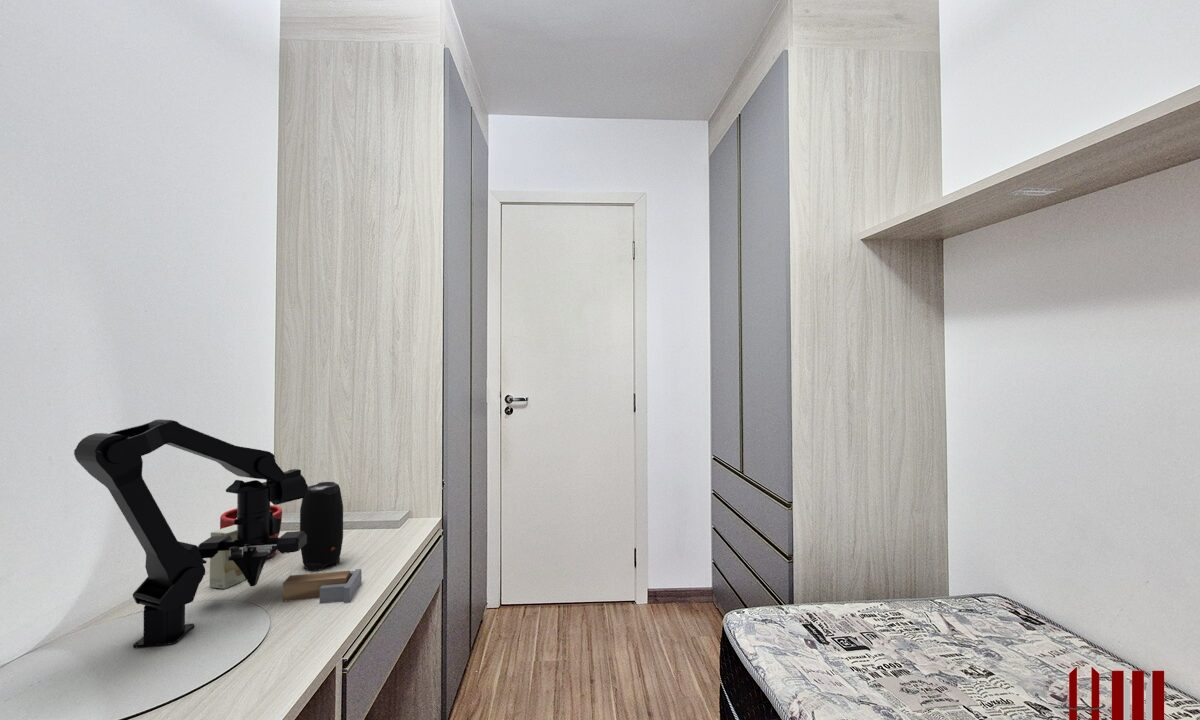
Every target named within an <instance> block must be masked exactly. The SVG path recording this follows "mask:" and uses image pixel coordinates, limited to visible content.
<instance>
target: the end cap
mask: <svg viewBox="0 0 1200 720" xmlns="http://www.w3.org/2000/svg"><path fill="white" fill-rule="evenodd" d="M349 571H350V579H349V581H348V582H347V584H335V585H323V586H321V587H320V598H319V604H325V603H334V602H335V603H336V602H337V603H338V602H343V603H350V602H351V601H352V599H353V598H354V596H355V594H356V593H357V591H358V590H359V589H358V588H359V587H360V585H361V584H362V575H363V574H362V568H356V569H355V570H349Z"/></svg>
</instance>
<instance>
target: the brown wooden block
mask: <svg viewBox="0 0 1200 720" xmlns="http://www.w3.org/2000/svg"><path fill="white" fill-rule="evenodd" d="M350 571H351V570H340V571H329V572H326V571H325V572H316V573H307V574H305V573H304V574H302V573H301V574H292V575H289V576H288V577H287V578H286V579H285V580H284V582H283V583H282V601H283V602H288V601H289V602H291V601H298V600H299V601H300V600H310V599H320V587H321V586H323V585H335V584H347V582H348V581H349V579H350Z"/></svg>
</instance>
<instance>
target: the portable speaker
mask: <svg viewBox="0 0 1200 720" xmlns="http://www.w3.org/2000/svg"><path fill="white" fill-rule="evenodd" d="M301 499H302V500H301V503H300V504H301V505H300V509H299V531H304V532H305V533H306V535H307V543H306V544H305V545H304V546H303V547H302V548H301V549H300V552H301V553H300V554H301V558H302V564H303V566H304V568H305V569H306V570H307V572H308V571H310V572H311V571H322V570H324V568H325V567H326V566H329V565H332V564H333V565H334V566H335V565H336V566H337V565H338V564H339V563H340V561H341V558H340V557H341V555H342V548H343V540H344V504H343V497H342V492H341V487H340V485H339V484H338V483H337V482H335V481H321V482H318V483H316V484H313V485H308V489H307V493H306V495H305V496H304V497H303V498H301Z"/></svg>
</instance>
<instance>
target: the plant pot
mask: <svg viewBox="0 0 1200 720" xmlns="http://www.w3.org/2000/svg"><path fill="white" fill-rule="evenodd" d="M270 511H272V513H273V518H279V519H281V522H282V521H283V520H282V519H283V508H281V507H280V506H278V505H274V504H270ZM235 519H237V507H236V508H233V509H230V510H228V511H227V510H226V511H225V512H223V513H221V515H220V518H219V530H220V529H222V528H226V527H229V526H232V525H234V520H235ZM281 527H282V524H281V525H280V529H281ZM280 532H281V531H280ZM280 532H279V534H275V535H273V536H270V538H279V535H280ZM261 544H262V543H261ZM276 552H277V550H276V551H275V552H274V553H272V554H271V555H270V556H269V557H268V558H270V557H272V556H273V555H274V554H276ZM256 553H257V551H255V554H256Z"/></svg>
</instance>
